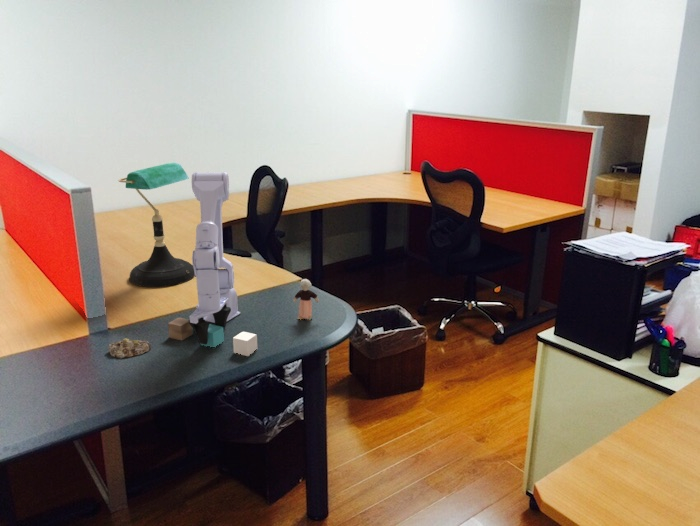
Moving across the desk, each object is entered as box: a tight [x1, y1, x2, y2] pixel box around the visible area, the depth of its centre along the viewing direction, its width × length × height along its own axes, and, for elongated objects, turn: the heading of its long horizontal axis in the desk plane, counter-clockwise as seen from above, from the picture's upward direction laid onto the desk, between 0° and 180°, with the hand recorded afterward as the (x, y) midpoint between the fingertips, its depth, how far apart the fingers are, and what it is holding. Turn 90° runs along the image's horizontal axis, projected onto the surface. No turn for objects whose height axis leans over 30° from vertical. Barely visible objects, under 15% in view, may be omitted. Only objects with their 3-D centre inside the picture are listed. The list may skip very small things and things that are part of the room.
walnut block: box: [167, 317, 193, 341], centre depth 165 cm, size 4×4×4 cm
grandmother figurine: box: [292, 278, 320, 321], centre depth 176 cm, size 8×4×13 cm, turn 99°
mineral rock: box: [108, 337, 152, 359], centre depth 156 cm, size 11×4×8 cm
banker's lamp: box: [118, 162, 195, 288], centre depth 208 cm, size 26×23×40 cm
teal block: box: [200, 323, 225, 348], centre depth 161 cm, size 4×4×4 cm
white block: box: [232, 331, 258, 357], centre depth 156 cm, size 4×4×4 cm
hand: (212, 337), depth 161 cm, fingers open, 7 cm apart
